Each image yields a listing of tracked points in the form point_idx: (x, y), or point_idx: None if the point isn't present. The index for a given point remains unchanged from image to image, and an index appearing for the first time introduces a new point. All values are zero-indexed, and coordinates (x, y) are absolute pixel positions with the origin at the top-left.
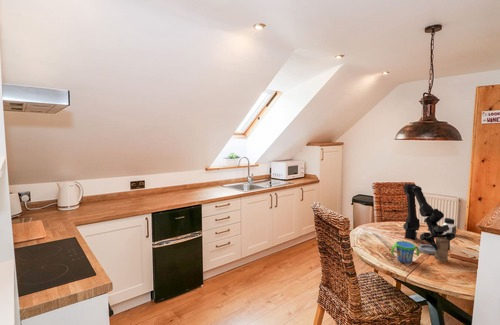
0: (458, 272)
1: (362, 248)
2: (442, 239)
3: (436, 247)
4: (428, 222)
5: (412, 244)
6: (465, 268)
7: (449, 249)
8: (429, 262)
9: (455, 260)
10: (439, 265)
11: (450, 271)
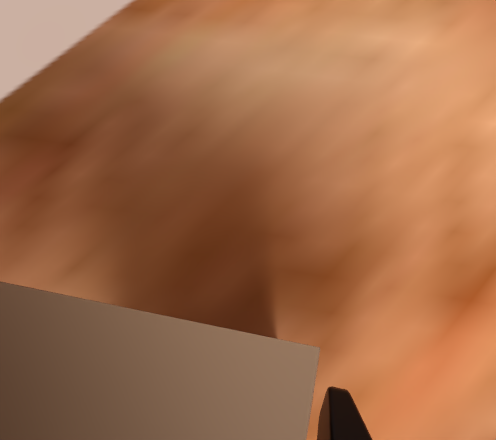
0: (296, 20)
1: None
2: (88, 433)
3: (360, 429)
4: None
5: None
6: (115, 90)
7: None
8: (481, 327)
9: None
10: (394, 212)
11: (374, 52)
